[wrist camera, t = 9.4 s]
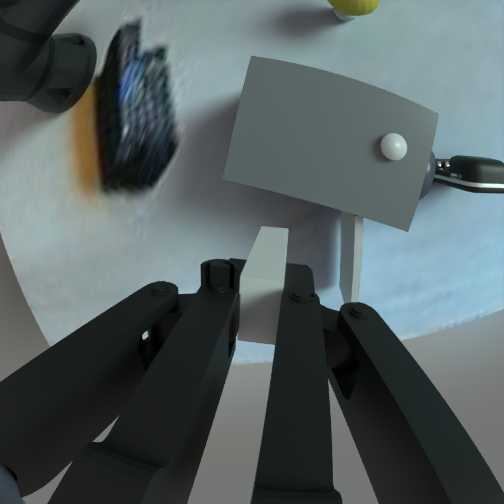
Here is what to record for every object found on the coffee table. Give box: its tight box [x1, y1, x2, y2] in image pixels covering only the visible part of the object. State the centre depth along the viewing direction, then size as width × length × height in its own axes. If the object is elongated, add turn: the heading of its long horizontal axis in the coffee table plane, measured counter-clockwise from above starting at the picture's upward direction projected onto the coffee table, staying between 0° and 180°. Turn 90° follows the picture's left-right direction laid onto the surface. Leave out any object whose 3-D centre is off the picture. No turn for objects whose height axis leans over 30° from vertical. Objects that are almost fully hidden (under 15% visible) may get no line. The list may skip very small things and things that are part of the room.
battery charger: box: [433, 155, 504, 193], centre depth 26 cm, size 7×4×11 cm, turn 97°
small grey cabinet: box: [222, 56, 439, 232], centre depth 28 cm, size 20×12×13 cm, turn 77°
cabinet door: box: [339, 211, 363, 304], centre depth 32 cm, size 12×1×9 cm, turn 4°
